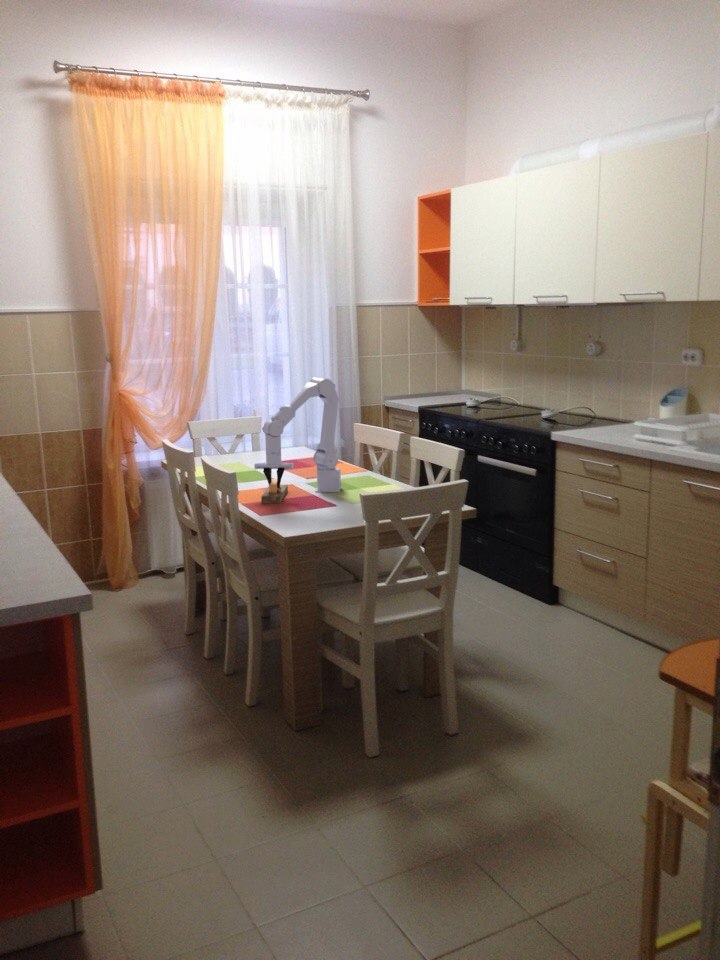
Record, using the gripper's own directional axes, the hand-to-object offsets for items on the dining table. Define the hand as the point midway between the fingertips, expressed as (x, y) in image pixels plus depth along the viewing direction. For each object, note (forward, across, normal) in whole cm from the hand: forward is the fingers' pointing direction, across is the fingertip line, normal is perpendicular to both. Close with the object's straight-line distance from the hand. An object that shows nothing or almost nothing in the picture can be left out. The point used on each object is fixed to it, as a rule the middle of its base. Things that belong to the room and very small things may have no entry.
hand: (274, 487), depth 313 cm
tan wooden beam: (+4, 0, 0) cm, 4 cm away
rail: (+4, 0, 0) cm, 4 cm away
